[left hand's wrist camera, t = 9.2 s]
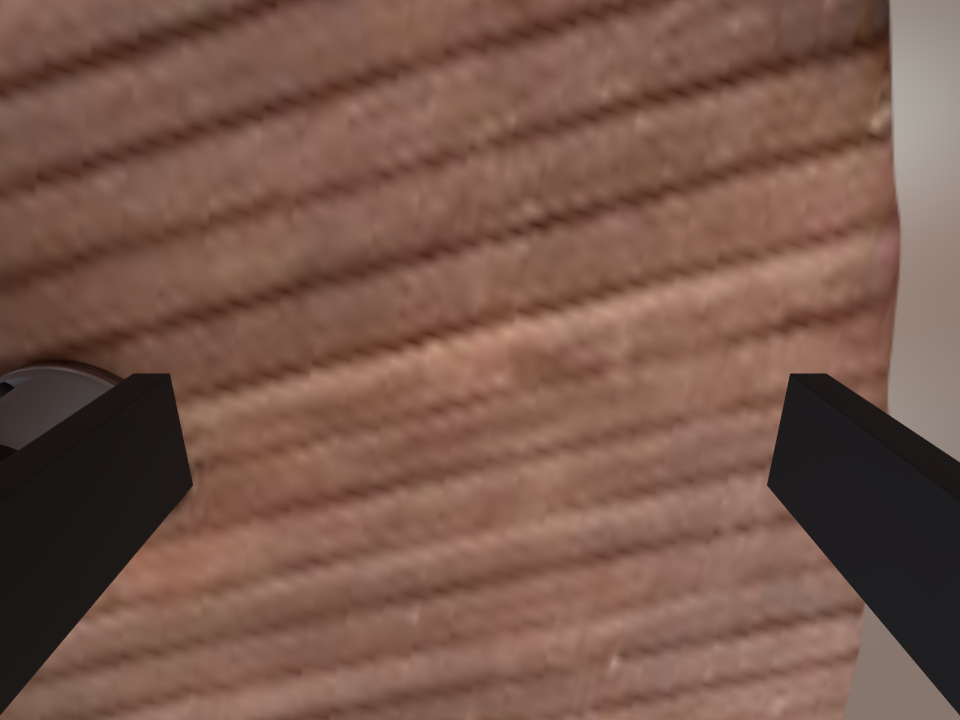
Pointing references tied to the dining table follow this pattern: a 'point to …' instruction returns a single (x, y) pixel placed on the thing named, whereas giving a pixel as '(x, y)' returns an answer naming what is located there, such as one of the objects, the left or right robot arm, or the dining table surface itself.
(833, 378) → the left robot arm
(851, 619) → the dining table surface
